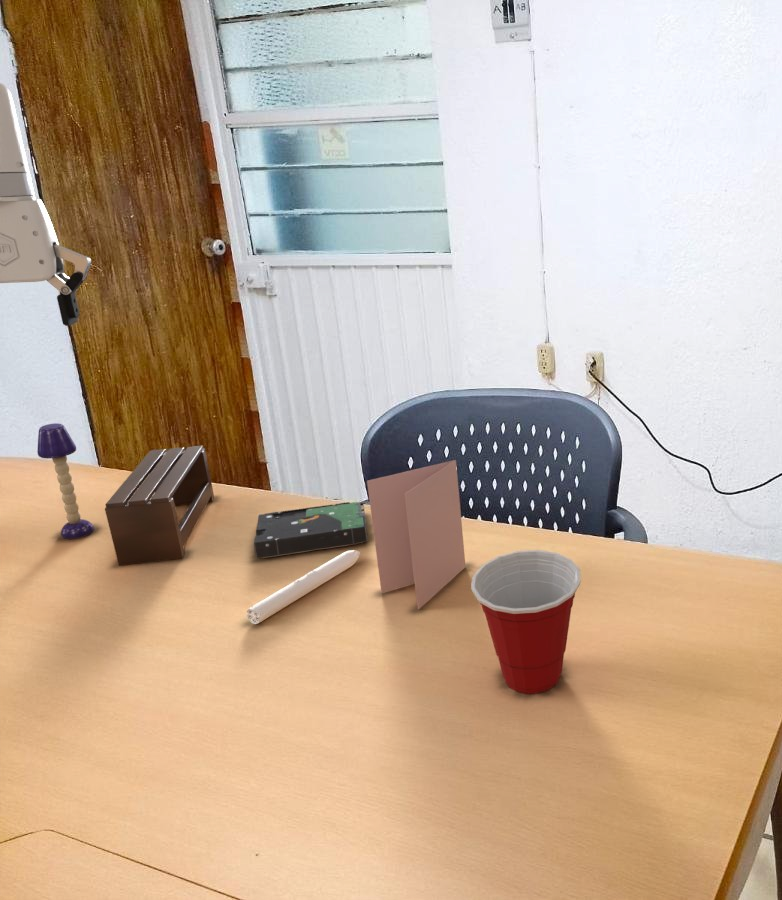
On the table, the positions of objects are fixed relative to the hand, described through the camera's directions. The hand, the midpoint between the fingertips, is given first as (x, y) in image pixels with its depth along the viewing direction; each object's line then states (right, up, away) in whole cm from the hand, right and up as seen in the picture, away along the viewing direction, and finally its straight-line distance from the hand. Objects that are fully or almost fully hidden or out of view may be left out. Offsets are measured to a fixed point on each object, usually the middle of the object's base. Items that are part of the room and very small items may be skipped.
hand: (30, 325), depth 108 cm
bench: (+11, -28, +14) cm, 33 cm away
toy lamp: (-2, -29, +13) cm, 32 cm away
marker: (+38, -34, -4) cm, 51 cm away
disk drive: (+34, -29, +10) cm, 45 cm away
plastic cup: (+68, -40, -23) cm, 82 cm away
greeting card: (+54, -34, -5) cm, 64 cm away
